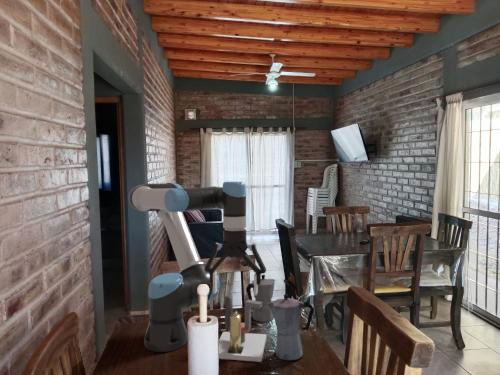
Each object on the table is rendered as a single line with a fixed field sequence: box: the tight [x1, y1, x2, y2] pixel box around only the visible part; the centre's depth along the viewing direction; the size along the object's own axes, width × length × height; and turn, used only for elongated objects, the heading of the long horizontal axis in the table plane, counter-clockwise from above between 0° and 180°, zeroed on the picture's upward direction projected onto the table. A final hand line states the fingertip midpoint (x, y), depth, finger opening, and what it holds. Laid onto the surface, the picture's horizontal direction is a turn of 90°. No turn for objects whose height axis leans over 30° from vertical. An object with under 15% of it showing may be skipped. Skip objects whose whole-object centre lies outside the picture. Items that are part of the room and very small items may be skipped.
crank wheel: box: [224, 295, 263, 343], centre depth 123 cm, size 14×6×15 cm, turn 64°
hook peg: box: [229, 310, 242, 354], centre depth 118 cm, size 4×4×14 cm
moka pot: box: [267, 293, 315, 361], centre depth 117 cm, size 10×15×20 cm, turn 81°
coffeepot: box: [245, 274, 276, 323], centre depth 146 cm, size 15×9×18 cm, turn 129°
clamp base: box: [218, 331, 267, 363], centre depth 122 cm, size 16×16×2 cm
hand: (235, 293), depth 117 cm, fingers open, 13 cm apart
